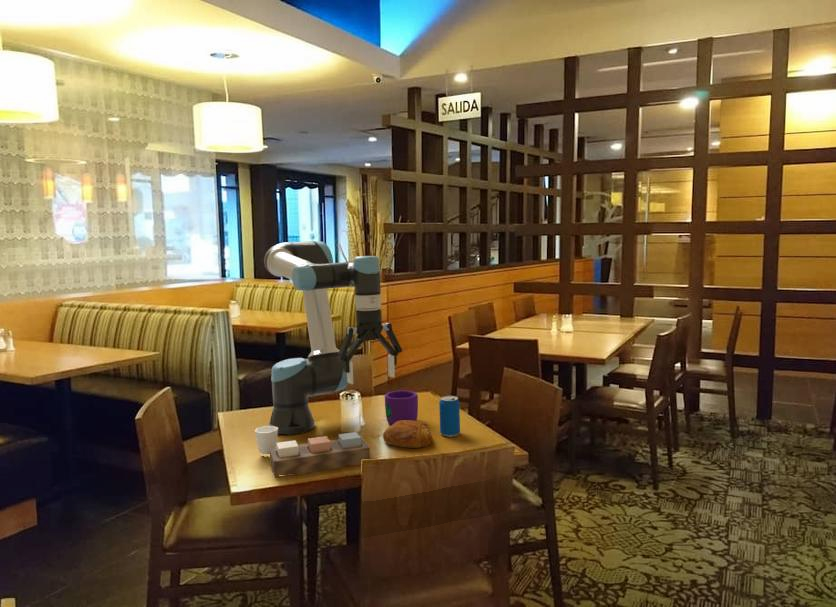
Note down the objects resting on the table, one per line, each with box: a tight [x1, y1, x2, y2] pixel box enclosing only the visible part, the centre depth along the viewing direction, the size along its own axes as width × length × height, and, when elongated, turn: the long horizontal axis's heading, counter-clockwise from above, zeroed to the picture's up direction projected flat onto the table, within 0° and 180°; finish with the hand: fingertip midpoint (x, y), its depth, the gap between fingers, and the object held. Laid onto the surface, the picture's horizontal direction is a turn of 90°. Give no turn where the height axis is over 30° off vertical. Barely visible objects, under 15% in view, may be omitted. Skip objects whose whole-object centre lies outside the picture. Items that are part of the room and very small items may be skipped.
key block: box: [269, 435, 371, 477], centre depth 183 cm, size 27×11×4 cm, turn 109°
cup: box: [254, 425, 279, 454], centre depth 192 cm, size 7×10×8 cm
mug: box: [384, 389, 419, 426], centre depth 222 cm, size 17×11×10 cm, turn 26°
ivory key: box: [276, 439, 299, 458], centre depth 180 cm, size 5×5×4 cm
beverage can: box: [438, 395, 461, 438], centre depth 204 cm, size 6×6×12 cm
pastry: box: [382, 420, 433, 449], centre depth 199 cm, size 14×16×8 cm
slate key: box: [338, 431, 362, 449], centre depth 185 cm, size 5×5×4 cm
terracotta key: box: [307, 435, 330, 453], centre depth 182 cm, size 5×5×4 cm
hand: (371, 379), depth 189 cm, fingers open, 13 cm apart
